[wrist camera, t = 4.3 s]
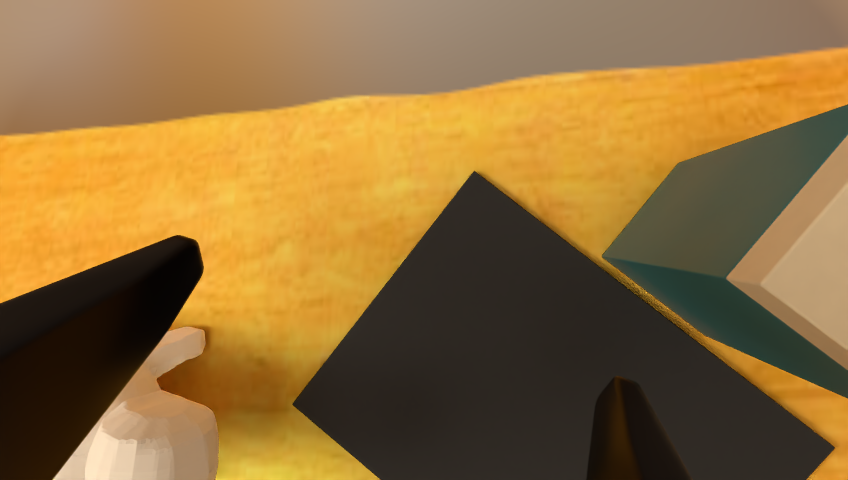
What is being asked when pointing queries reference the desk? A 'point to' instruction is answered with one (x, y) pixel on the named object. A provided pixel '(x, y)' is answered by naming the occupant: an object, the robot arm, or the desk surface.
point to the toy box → (755, 247)
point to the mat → (530, 365)
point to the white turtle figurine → (151, 426)
